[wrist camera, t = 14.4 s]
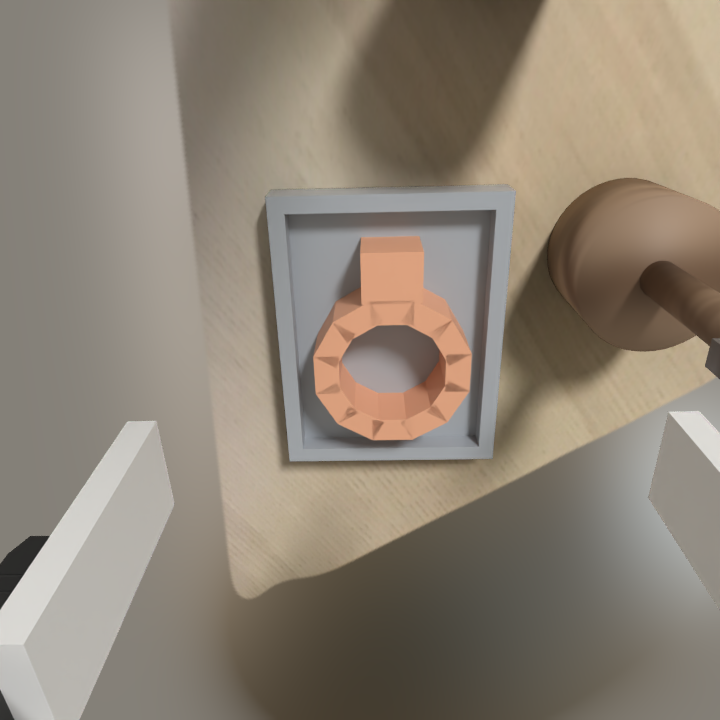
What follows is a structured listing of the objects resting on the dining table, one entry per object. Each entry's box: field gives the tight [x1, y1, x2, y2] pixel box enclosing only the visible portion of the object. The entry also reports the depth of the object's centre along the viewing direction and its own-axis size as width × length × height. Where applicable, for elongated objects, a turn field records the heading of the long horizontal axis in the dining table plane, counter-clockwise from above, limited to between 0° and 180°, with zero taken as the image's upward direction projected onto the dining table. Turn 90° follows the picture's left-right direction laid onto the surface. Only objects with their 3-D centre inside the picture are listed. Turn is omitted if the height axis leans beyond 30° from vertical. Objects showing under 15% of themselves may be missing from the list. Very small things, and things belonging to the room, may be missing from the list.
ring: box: [313, 236, 472, 440], centre depth 37 cm, size 12×9×4 cm
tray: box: [265, 184, 516, 461], centre depth 38 cm, size 18×14×2 cm
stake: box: [547, 178, 720, 379], centre depth 29 cm, size 8×8×16 cm
